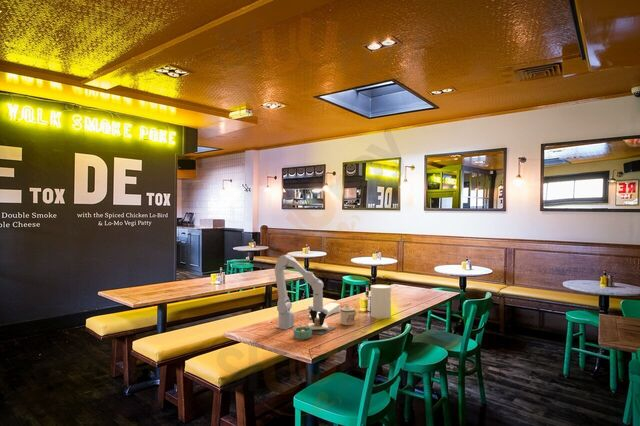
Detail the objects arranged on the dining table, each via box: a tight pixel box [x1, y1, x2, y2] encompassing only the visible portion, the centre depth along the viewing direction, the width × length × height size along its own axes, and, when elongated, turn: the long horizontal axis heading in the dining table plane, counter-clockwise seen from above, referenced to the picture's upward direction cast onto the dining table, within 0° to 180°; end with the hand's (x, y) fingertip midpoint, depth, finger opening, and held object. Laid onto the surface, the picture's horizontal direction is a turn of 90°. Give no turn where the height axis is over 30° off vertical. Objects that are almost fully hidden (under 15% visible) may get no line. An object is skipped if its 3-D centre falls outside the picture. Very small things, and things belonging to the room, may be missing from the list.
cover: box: [307, 318, 330, 330], centre depth 230 cm, size 11×11×5 cm
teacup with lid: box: [340, 304, 357, 326], centre depth 244 cm, size 12×9×12 cm
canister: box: [370, 283, 392, 320], centre depth 261 cm, size 14×14×20 cm
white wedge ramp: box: [308, 302, 342, 319], centre depth 265 cm, size 10×7×28 cm
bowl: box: [293, 326, 313, 340], centre depth 217 cm, size 10×10×4 cm
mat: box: [312, 326, 336, 336], centre depth 230 cm, size 15×15×1 cm
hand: (317, 323), depth 230 cm, fingers closed on cover, 5 cm apart
